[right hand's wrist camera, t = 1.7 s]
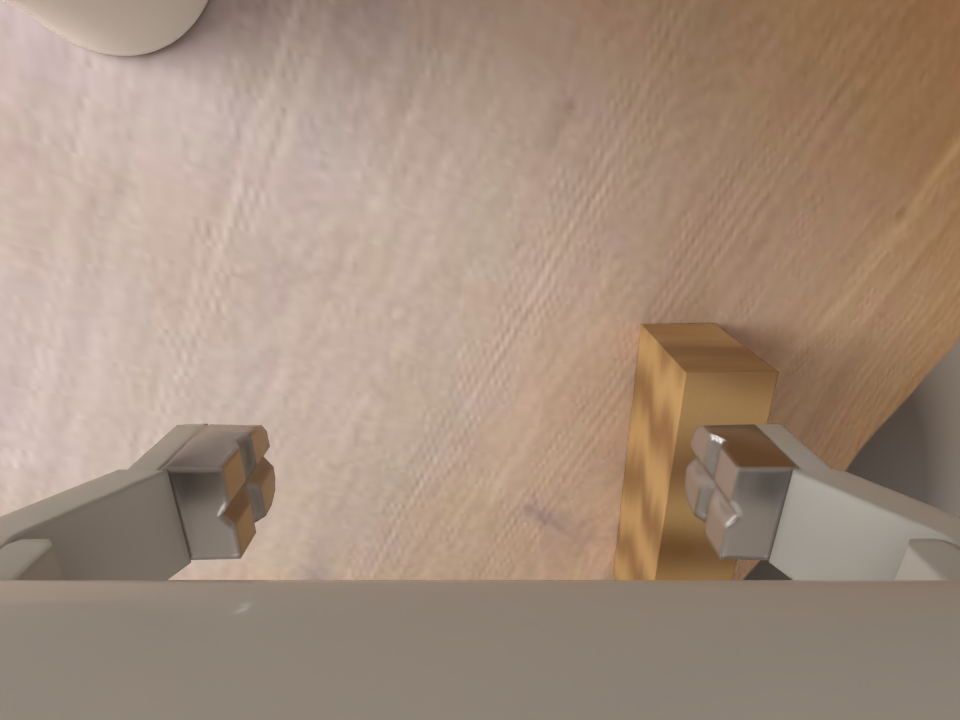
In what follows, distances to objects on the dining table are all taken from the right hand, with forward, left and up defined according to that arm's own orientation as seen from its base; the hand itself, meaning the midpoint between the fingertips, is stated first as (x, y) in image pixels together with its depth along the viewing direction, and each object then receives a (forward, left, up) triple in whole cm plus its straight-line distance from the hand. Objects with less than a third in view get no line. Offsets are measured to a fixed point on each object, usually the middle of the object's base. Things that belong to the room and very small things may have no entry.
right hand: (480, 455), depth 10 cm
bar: (+20, +15, -30) cm, 39 cm away
